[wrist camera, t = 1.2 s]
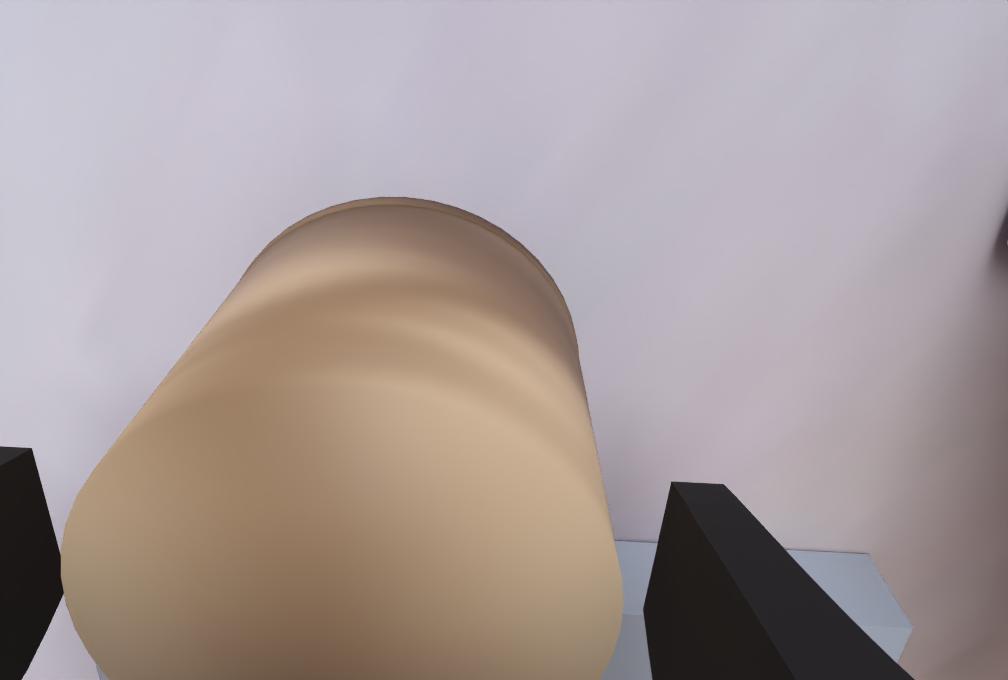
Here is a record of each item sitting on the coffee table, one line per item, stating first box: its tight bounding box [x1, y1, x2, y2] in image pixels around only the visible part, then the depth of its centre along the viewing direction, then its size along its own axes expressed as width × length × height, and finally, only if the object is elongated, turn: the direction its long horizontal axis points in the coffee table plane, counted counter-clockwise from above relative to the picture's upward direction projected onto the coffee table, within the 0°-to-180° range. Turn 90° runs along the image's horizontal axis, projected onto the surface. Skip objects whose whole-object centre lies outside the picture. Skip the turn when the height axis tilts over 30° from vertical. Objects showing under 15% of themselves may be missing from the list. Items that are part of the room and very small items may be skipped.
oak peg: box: [61, 197, 624, 680], centre depth 11 cm, size 6×6×7 cm
